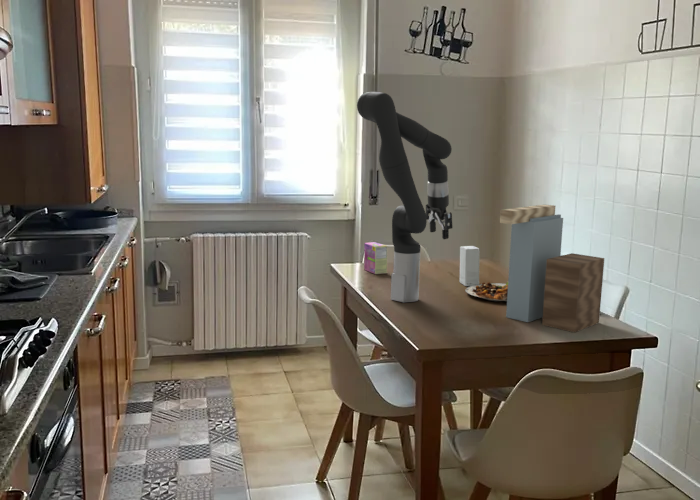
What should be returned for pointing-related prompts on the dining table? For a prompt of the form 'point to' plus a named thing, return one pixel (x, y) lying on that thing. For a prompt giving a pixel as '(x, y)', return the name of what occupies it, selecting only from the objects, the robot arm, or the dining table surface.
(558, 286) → the low stand
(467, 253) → the skincare box
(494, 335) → the dining table surface
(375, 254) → the box
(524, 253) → the pedestal
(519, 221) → the brown rectangular block
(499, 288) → the plate of food
